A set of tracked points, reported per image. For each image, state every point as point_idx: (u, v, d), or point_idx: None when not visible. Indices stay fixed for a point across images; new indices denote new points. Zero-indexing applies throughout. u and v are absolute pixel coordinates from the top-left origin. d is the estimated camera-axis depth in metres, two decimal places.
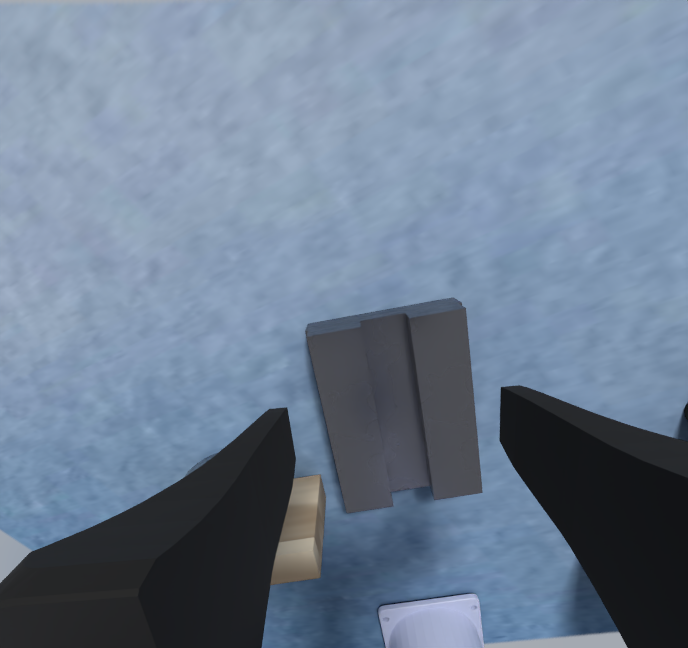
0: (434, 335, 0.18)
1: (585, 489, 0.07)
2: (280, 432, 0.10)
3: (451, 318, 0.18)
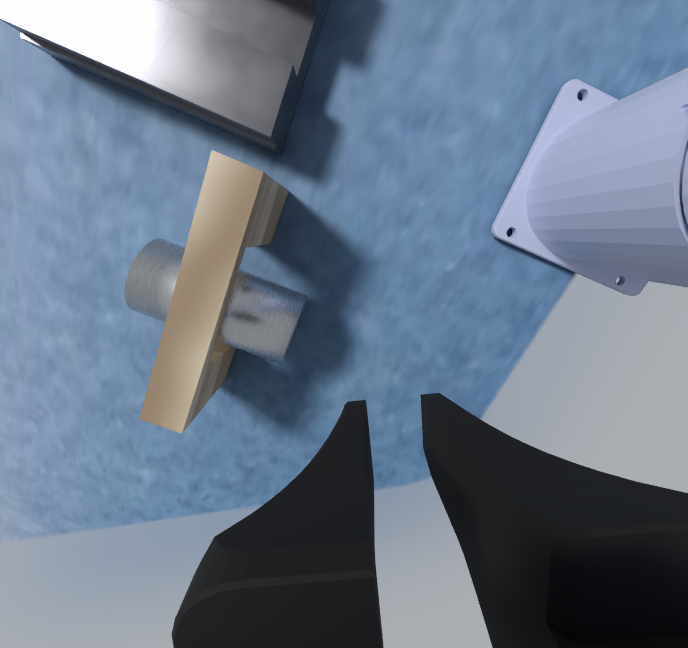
0: None
1: (467, 499, 0.07)
2: (367, 424, 0.10)
3: None
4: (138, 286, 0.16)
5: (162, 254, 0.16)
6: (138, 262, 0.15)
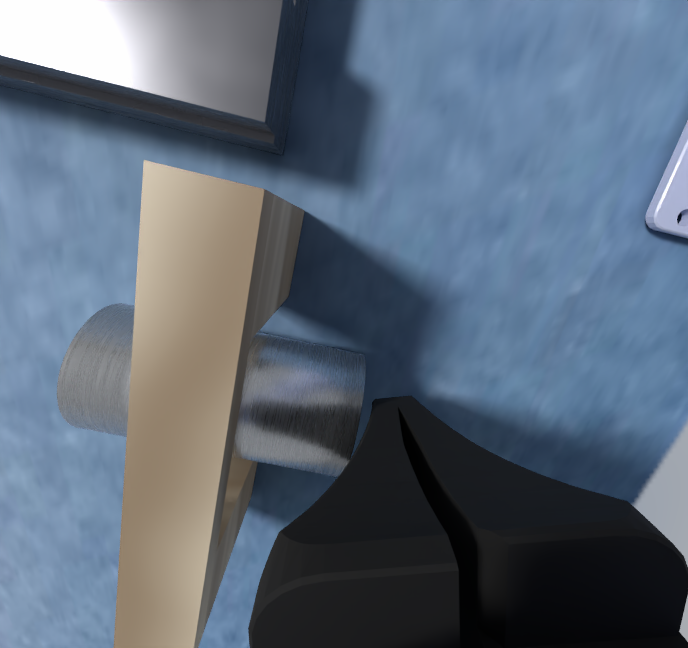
0: None
1: None
2: None
3: None
4: (83, 376, 0.09)
5: (128, 319, 0.10)
6: (85, 335, 0.09)
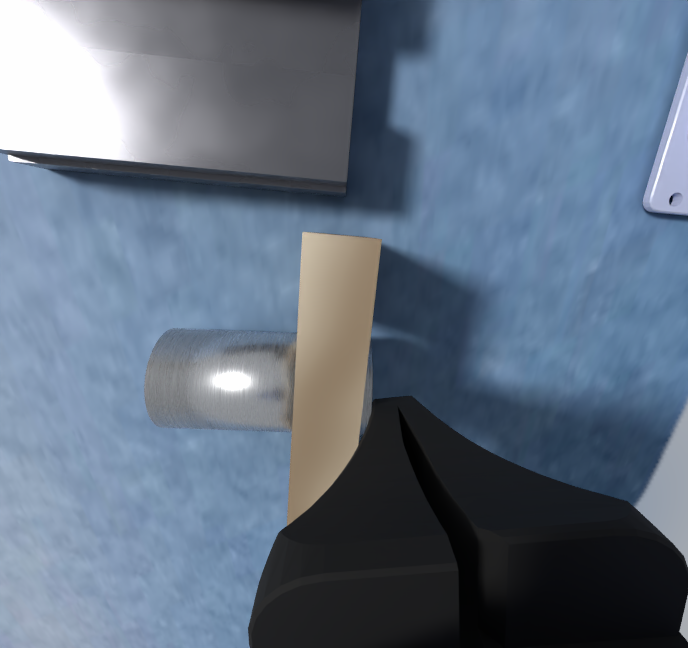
0: None
1: None
2: None
3: None
4: (162, 380, 0.12)
5: (186, 336, 0.13)
6: (158, 350, 0.12)
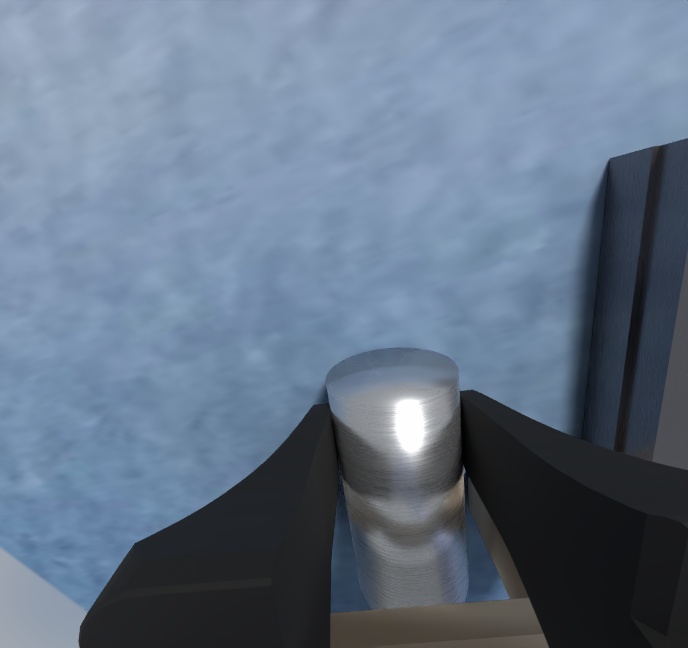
0: None
1: (517, 495, 0.07)
2: (329, 427, 0.10)
3: None
4: (432, 416, 0.09)
5: None
6: (455, 388, 0.09)
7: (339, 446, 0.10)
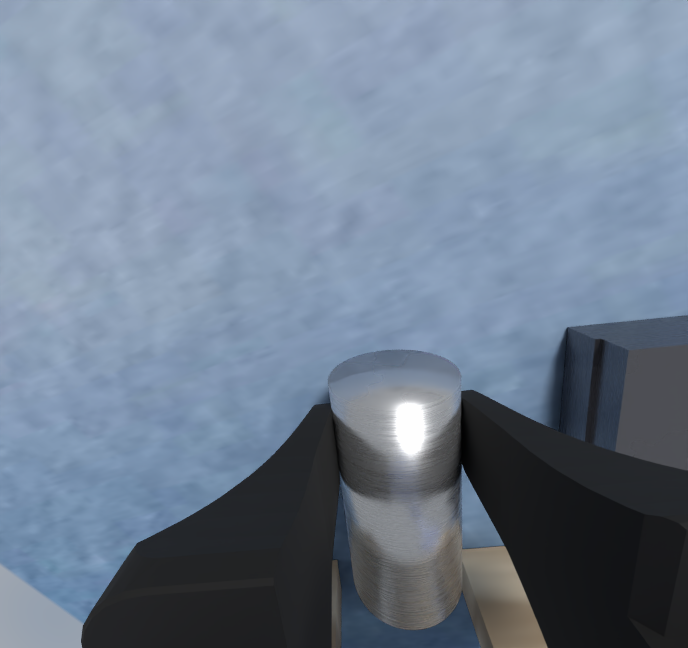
0: None
1: (516, 495, 0.07)
2: (330, 427, 0.10)
3: None
4: (434, 420, 0.09)
5: None
6: (458, 393, 0.09)
7: (339, 447, 0.10)
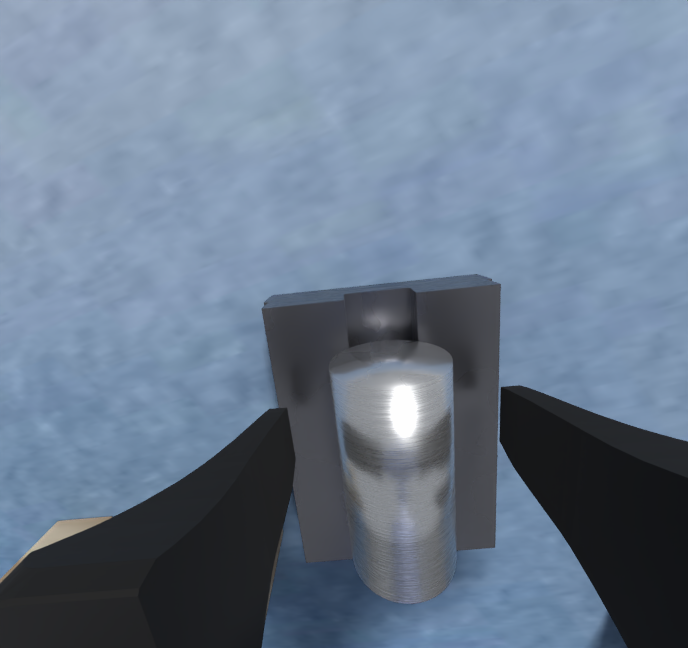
0: (450, 322, 0.12)
1: (585, 489, 0.07)
2: (280, 432, 0.10)
3: (478, 298, 0.12)
4: (430, 399, 0.09)
5: None
6: (450, 374, 0.10)
7: (341, 430, 0.11)
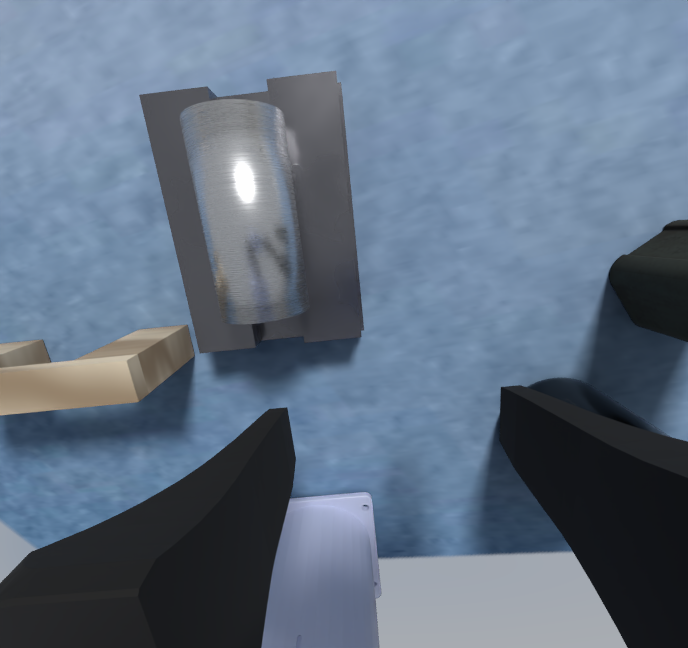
0: (298, 108, 0.15)
1: (585, 489, 0.07)
2: (280, 432, 0.10)
3: (318, 84, 0.14)
4: (245, 118, 0.12)
5: (284, 136, 0.13)
6: (270, 111, 0.12)
7: (190, 170, 0.13)
